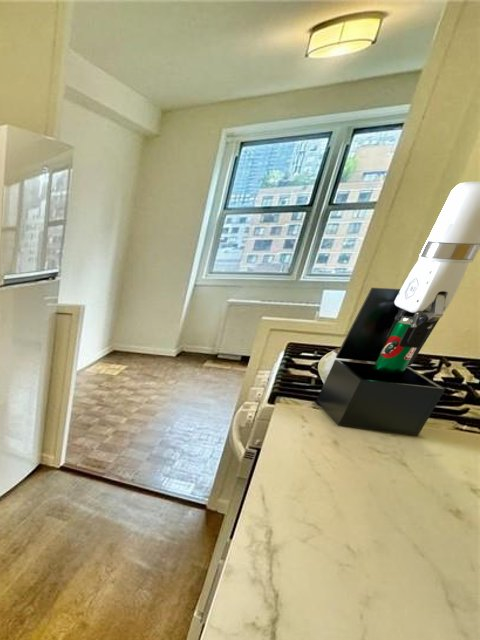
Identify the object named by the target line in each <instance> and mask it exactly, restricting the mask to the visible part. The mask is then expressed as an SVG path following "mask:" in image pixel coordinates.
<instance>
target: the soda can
mask: <svg viewBox="0 0 480 640" xmlns="http://www.w3.org/2000/svg"><path fill="white" fill-rule="evenodd" d="M413 318H414V316H400V318H399V319H398V320H396V321H395V323H394V325H393V327H392V329H391V331H390V333H389V335H388V337H387V339H386V341H385V343H384V345H383V347H382V349H381V351H380V353H379V355H378V357H377V359H376V361H375V363H374V365H373V367H372V368H373V370H374V371H375V372H377V373H380V374H384V375H391V376H397V375H401V374H402V373H404V371H405V369H406V367H408V366H409V365H408V363H409V361H410V360H411V358H412V356H413V354H414V352H415V350H416V348H413V347H401V346H399V342H400V341H401V339H402V337H403V335H404V333H405V331H406V329H407V327H411V324H412V321H413ZM420 319H422V318H421V317H420Z"/></svg>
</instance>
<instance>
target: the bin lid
mask: <svg viewBox="0 0 480 640" xmlns="http://www.w3.org/2000/svg"><path fill="white" fill-rule="evenodd" d="M400 290H401V288H388V287H370V290H369V292H368V294H367V296H366V297H365V300H364V301H363V303H362V305H361V307H360V309H359V310H358V313H357V315H356V316H355V318H354V320H353V322H352V324H351V327H350V328H349V331H348V332H347V334H346V336H345V338H344V340H343V342H342V344H341V346H340V347H339V348H340V350H339V351H338V353H337V355H336V358H340V359H350V360H360V361H370V362H375V361H376V359H377V357H378V355H379V353H380V351H381V349H382V347H383V345H384V343H385V341H386V339H387V338H386V337H387V335H388V333H389V331H390V329H391V327H392V325H393V323H394V321H396V320H395V317H396V316H397V314H398V312H399V311H398V309H399V307H397V306H396V305H395V303H394V301H395V299H396V297H397V295H398V293H399V291H400ZM421 312H429V311H427V310H423V311H421ZM430 313H431V312H430ZM423 317H424V316H421V318H423ZM439 320H440V319H438V320H436V322H435V323H433V325H432V327H431V328H430V329H429V330H428V332H427V334H426V336H425V337H424V339H423V341H422V343H421V345H420V347H418V348H416V350H415V352H414V354H413V356H412V358H411V360H410V361H409V363H408V365H407V366H412V364H413V363H414V361H415V360H416V358H417V356H418V355H419V353H420V351H421V350H422V348H423V347H424V345H425V343H426V342H427V340H428V338H429V337H430V335H431V333H432V332H433V331H434V329H435V327H436V326H437V324H438V322H439Z"/></svg>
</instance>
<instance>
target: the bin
mask: <svg viewBox="0 0 480 640" xmlns="http://www.w3.org/2000/svg"><path fill="white" fill-rule="evenodd" d="M373 365H374V363H365V362H355V361H345V360H335V361H334V363H333V365H332V368H331V370H330V372H329V374H328V376H327V379H326V381H325V383H323V385H322V387H321V389H320V392H319V394H318V396H317V398H316V400H315V402H316V403H317V405H319V406H320V407H321V409H322V410H323V411H324V412H325V413H326V414H327V415H328V416H329V417H330V418H331V419H332V421H334V422H335V424H336V425H337V426H338V427H345V428H346V427H347V428H352V429H353V428H354V429H359V430H367V431H375V432H383V433H391V434H398V435H404V436H406V435H407V436H411V437H419V435H420V433H421V431H422V430H423V428H424V426H425V424H426V423H427V422H428V419H429V418H430V416H431V414H432V413H433V411H434V409H435V408H436V406H437V404H438V403H439V401H440V399H441V398H442V396H443V394H444V392H445V391H446V388H444V387H443V386H441V385H440V384H437V383H436V382H434V381H433V380H431V379H429V378H428V377H426V376H425V375H423V374H422V373H420V372H418V371H417V370H416V369H413V368H412V367H410V366H407V367H406V369H405V371H404V373H402V374H401V375H397V376H391V375H384V374H380V373H377V372H375V371H374V370H373V368H372V367H373Z"/></svg>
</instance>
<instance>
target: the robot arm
mask: <svg viewBox="0 0 480 640" xmlns="http://www.w3.org/2000/svg"><path fill="white" fill-rule="evenodd" d="M479 251H480V180H477V181H476V180H475V181H464V182H460V183H459V184H457V185H455V187H453V189H452V190H451V191H450V193H449V195H448V197H447V199H446V201H445V204H444V206H443V207H442V210H441V212H440V213H439V215H438V218H437V219H436V222H435V224H434V225H433V228H432V230H431V232H430V234H429V236H428V237H427V240H426V242H425V244H424V246H423V248H422V250H421V252H420V253H419V257H418V258H417V259H418V260H417V262H416V263H415V264H414V266H413V267H412V269H411V270H410V272H409V273H408V276H407V277H406V279H405V280H404V283H403V284H402V286H401V287H400V289H401V290H400V291H399V293H398V295H397V297H396V299H395V301H394V303H395V305H396V306H397V307H399V309H398V311H399V312H398V314H397V316H396V317H395V320H398V319H399V318H400V316H414V318H413V321H412V324H411V327H407V329H406V331H405V333H404V335H403V337H402V339H401V341H400V342H399V346H401V347H413V348H418V347H420V345H421V343H422V341H423V339H424V337H425V336H426V334H427V332H428V330H429V329H430V328H431V327H432V325H433V323H435V322H436V320H438V319H439V320H440V319H441V318H442V317H443V315H444V313H445V312H446V311H447V309H448V308H449V306H450V304H451V303H452V301H453V299H454V297H455V296H456V293H457V291H458V290H459V287H460V285H461V283H462V281H463V278H464V276H465V274H466V271H467V268H468V266H469V264H471V263H473V262H474V260H475V258H476V256H477V255H478V253H479ZM423 310H427V311H429V312H421V311H423ZM430 312H431V313H430ZM421 316H424V317H423V318H422V319H420V317H421ZM394 323H395V321H394ZM394 323H393V325H394ZM393 325H392V327H393ZM392 327H391V329H392ZM391 329H390V331H391ZM390 331H389V333H390ZM389 333H388V335H389ZM388 335H387V337H388ZM387 337H386V338H387Z"/></svg>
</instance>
